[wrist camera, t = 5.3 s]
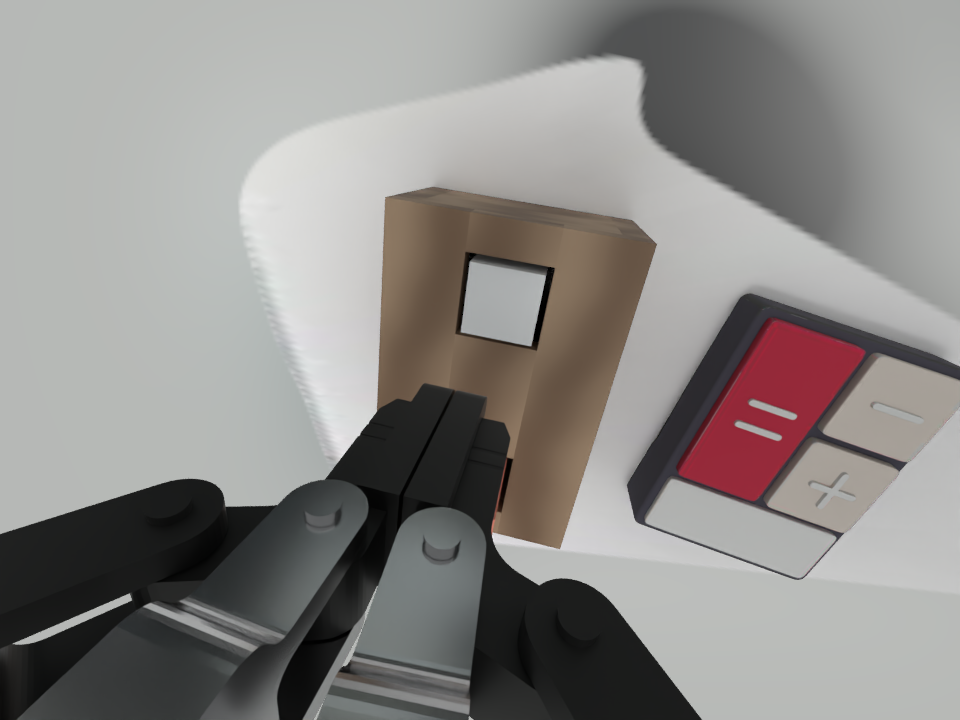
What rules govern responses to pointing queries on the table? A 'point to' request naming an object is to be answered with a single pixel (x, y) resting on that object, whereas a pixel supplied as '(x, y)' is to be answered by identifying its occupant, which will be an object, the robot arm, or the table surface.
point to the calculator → (789, 435)
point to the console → (505, 365)
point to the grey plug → (503, 299)
